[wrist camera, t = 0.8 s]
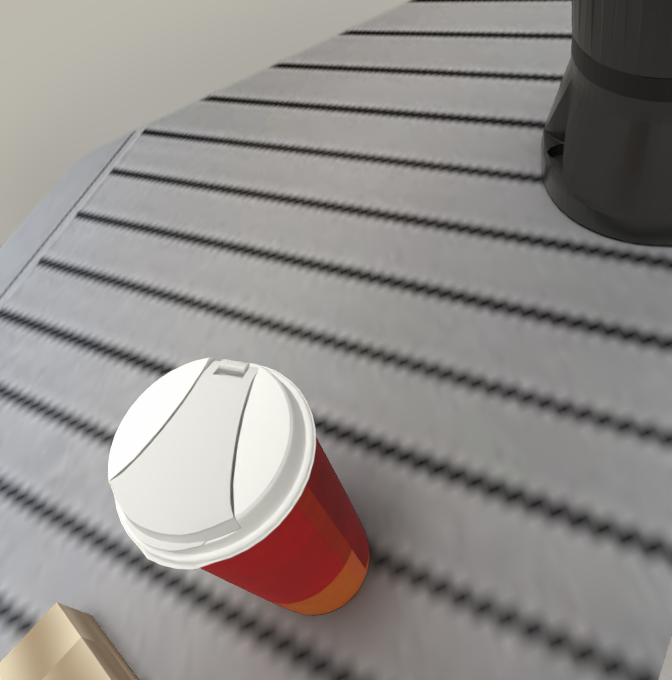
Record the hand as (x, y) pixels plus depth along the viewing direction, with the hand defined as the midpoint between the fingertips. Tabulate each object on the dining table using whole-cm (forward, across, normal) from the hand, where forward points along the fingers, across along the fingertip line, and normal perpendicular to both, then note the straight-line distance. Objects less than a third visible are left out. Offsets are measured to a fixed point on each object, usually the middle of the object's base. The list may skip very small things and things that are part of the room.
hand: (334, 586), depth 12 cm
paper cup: (+18, 0, -12) cm, 22 cm away
